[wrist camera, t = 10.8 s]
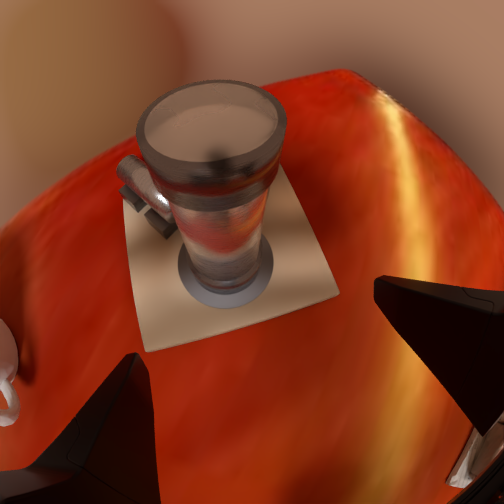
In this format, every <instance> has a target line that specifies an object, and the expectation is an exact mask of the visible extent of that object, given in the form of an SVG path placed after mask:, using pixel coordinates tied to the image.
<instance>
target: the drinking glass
mask: <svg viewBox="0 0 504 504" xmlns="http://www.w3.org/2000/svg"><path fill="white" fill-rule="evenodd" d="M286 125H287V117H286V113H285V110H284V108H283V106H282V105H281V103H280V102H279V101H278V100H277V99H276V98H275V97H274V96H273V95H272V94H270V93H269V92H267V91H265V90H263V89H261V88H259V87H257V86H254V85H252V84H248V83H244V82H239V81H232V80H206V81H200V82H194V83H191V84H187V85H184V86H181V87H178V88H176V89H174V90H171V91H169V92H167V93H165V94H164V95H162V96H161V97H159V98H158V99H156V100H155V101H154V102H153V103H152V104H151V105H149V107H147V109H146V110H145V111H144V112H143V114H142V115H141V117H140V119H139V121H138V124H137V128H136V137H137V142H138V145H139V147H140V150H141V153H142V155H143V158H144V161H145V163H146V166H147V169H148V171H149V174H150V176H151V179H152V181H153V184H154V186H155V188H156V189H157V190H158V192H159V193H160V194H161V195H162V196H163V197H164V198H165V199H167V200H168V203H169V205H170V208H171V211H172V213H173V216H174V218H175V221H176V224H177V226H178V229H179V231H180V234H181V236H182V239H183V241H184V244H185V246H186V259H187V262H188V265H189V267H190V269H191V271H192V274H193V276H194V277H195V279H196V281H197V282H198V283H199V284H200V285H201V286H202V287H203V288H204V289H206V290H207V291H209V292H212V293H215V294H219V295H231V294H236V293H238V292H241V291H243V290H245V289H246V288H247V287H249V286H250V285H251V284H252V283H253V282H254V280H255V279H256V277H257V275H258V273H259V270H260V266H261V260H262V255H263V245H262V240H261V231H262V225H263V218H264V212H265V205H266V198H267V192H268V188H269V187H270V185H271V184H272V183H273V181H274V180H275V177H276V175H277V173H278V169H279V164H280V158H281V153H282V147H283V142H284V136H285V130H286Z"/></svg>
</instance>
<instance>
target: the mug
mask: <svg viewBox="0 0 504 504" xmlns="http://www.w3.org/2000/svg"><path fill="white" fill-rule="evenodd" d="M17 370H18V350H17V346H16V343H15V339H14V337H13V335H12V333H11V331H10V329H9V328H8V326H7V325H6V324H5V323H4V322H3V320H2V319H0V390H2V392H3V394H4V396H5V398H6V400H7V402H8V406H9V409H7V410H2V409H0V426H8V425H11V424H13V423H14V422H15V421H16V420H17V418H18V417H19V413H20V400H19V397H18V395H17V392H16V390H15V389H14V387H13V385H12V384H11V383H12V381H13V380H14V378H15V376H16V372H17Z"/></svg>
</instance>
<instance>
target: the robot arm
mask: <svg viewBox="0 0 504 504" xmlns="http://www.w3.org/2000/svg"><path fill="white" fill-rule="evenodd" d="M374 301H375V303H376V304H377V305H378V307H379V308H380V310H381V311H382V312H383V314H384V315H385V316H386V318H387V319H388V321H389V322H390V323H391V325H392V326H393V327H394V329H395V330H396V331H397V332H398V334H399V335H400V336H401V337H402V338H403V339H404V340H405V341H406V343H407V344H408V345H409V346H410V347H411V348H412V349H413V351H414V352H415V353H416V354H417V355H418V356H419V358H420V359H421V360H422V361H423V362H424V364H425V365H426V366H427V367H428V368H429V369H430V371H431V372H432V373H433V374H434V376H435V377H436V378H437V379H438V380H439V382H440V383H441V384H442V385H443V387H444V388H445V389H446V390H447V392H448V393H449V394H450V395H451V397H452V398H453V399H454V400H455V402H456V403H457V404H458V406H459V407H460V408H461V410H462V411H463V412H464V414H465V415H466V416H467V417H468V419H469V420H470V421H471V423H472V424H473V426H474V427H475V428H476V430H477V431H478V432H479V434H480V435H481V436H482V437H484V436H485V435H486V434H487V432H488V431H489V430H490V429H491V428H492V427H493V426H494V425H495V424H496V422H497V421H498V420H499V419H500V418H501V416H502V415H503V414H504V291H493V290H482V289H474V288H466V287H459V286H453V285H446V284H439V283H433V282H426V281H419V280H413V279H406V278H399V277H393V276H386V275H383V276H380V277H378V278H376V279H375V280H374ZM0 504H161V500H160V492H159V483H158V474H157V463H156V449H155V432H154V409H153V402H152V394H151V386H150V378H149V372H148V369H147V368H146V366H145V364H144V362H143V361H142V359H141V357H140V355H139V354H138V353H136V352H135V353H130V354H127V355H125V357H124V358H123V359H122V360H121V361H120V362H119V364H118V365H117V366H116V367H115V368H114V370H113V371H112V372H111V373H110V374H109V375H108V377H107V378H106V379H105V380H104V381H103V383H102V384H101V385H100V386H99V387H98V389H97V390H96V391H95V392H94V393H93V395H92V396H91V397H90V398H89V400H88V401H87V402H86V403H85V404H84V406H83V407H82V408H81V409H80V411H79V412H78V413H77V414H76V417H74V418H73V419H72V420H71V422H70V423H69V424H68V425H67V426H66V428H65V429H64V430H63V431H62V432H61V434H60V435H59V436H58V437H57V438H56V439H55V440H54V441H53V442H52V443H51V444H50V445H49V446H48V448H47V449H46V450H45V451H44V452H43V453H42V454H41V455H40V456H39V457H38V458H37V459H36V460H35V461H34V462H33V463H32V464H31V465H29V466H28V467H26V468H23V469H19V470H11V471H0ZM447 504H504V445H503V449H502V450H501V451H500V452H499V453H498V454H497V456H496V457H495V458H494V459H493V460H492V461H491V462H490V463H489V464H488V465H487V467H486V468H485V469H484V470H483V471H482V472H481V473H480V474H479V475H478V476H477V477H476V478H475V479H474V480H473V481H472V482H471V483H469V484H468V485H467V486H466V487H465V488H464V489H463V490H462V491H461V492H460V493H458V494H457V495H456V496H455V497H454V498H453V499H451V500H450V501H449V502H448V503H447Z"/></svg>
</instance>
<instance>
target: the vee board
mask: <svg viewBox="0 0 504 504" xmlns="http://www.w3.org/2000/svg"><path fill="white" fill-rule="evenodd" d="M123 208H124V222H125V233H126V243H127V252H128V260H129V268H130V275H131V282H132V288H133V294H134V300H135V306H136V311H137V316H138V321H139V326H140V331H141V335H142V340H143V344H144V348H145V352H152V351H156V350H161V349H165V348H169V347H173V346H177V345H181V344H185V343H189V342H193V341H197V340H201V339H204V338H208V337H212V336H215V335H219V334H222V333H226V332H229V331H233V330H236V329H240V328H243V327H246V326H250V325H253V324H256V323H259V322H262V321H266V320H269V319H272V318H275V317H278V316H281V315H284V314H287V313H290V312H293V311H296V310H299V309H302V308H305V307H308V306H310V305H313V304H316V303H319V302H322V301H324V300H327V299H330V298H332V297H335V296H337V295H338V294H340V292H339V289H338V287H337V285H336V282H335V280H334V277H333V275H332V273H331V270H330V268H329V266H328V263H327V261H326V259H325V256H324V254H323V252H322V250H321V247H320V245H319V243H318V241H317V238H316V236H315V234H314V232H313V230H312V228H311V225H310V223H309V221H308V219H307V217H306V215H305V213H304V211H303V208H302V206H301V204H300V202H299V200H298V198H297V196H296V194H295V192H294V190H293V188H292V186H291V184H290V182H289V180H288V178H287V176H286V174H285V172H284V170H283V168H282V166H281V164H279V169H278V173H277V175H276V177H275V180H274V181H273V183H272V184H271V185H270V191H269V195H268V199H267V202H266V206H265V212H264V218H263V225H262V231H261V240H262V245H263V255H262V260H261V266H260V270H259V273H258V275H257V277H256V279H255V280H254V282H253V283H252V284H251V285H250V286H249V287H247V288H246V289H245V290H243V291H241V292H238V293H236V294H231V295H219V294H215V293H212V292H209V291H207V290H206V289H204V288H203V287H202V286H201V285H200V284H199V283H198V282H197V281H196V279H195V277H194V276H193V274H192V271H191V269H190V267H189V265H188V262H187V259H186V246H185V244H184V241H183V239H182V236H181V234H180V231H179V229H177V230H176V231H175V232H174V233H173V234H172V235H171V236H170V237H169V238H168V239H167V240H166V239H165V238H164V237H163V236H162V235H161V234H159V233H158V232H157V231H156V230H155V229H154V228H153V227H152V226H151V225H150V224H149V223H148V221H147V220H146V218H145V216H144V214H145V213H146V212H147V211H148V210H149V209H150V208H151V207H150V206H149V205H148V204H147V205H146V206H145V207H144V208H143V209H142V210H141V211H140V212H139V213H137V212H136V211H135V210H134V209H133V208H132V207H131V206H130V205H129V204H128V203H127V202H126V201H125V200H124V199H123Z"/></svg>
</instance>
